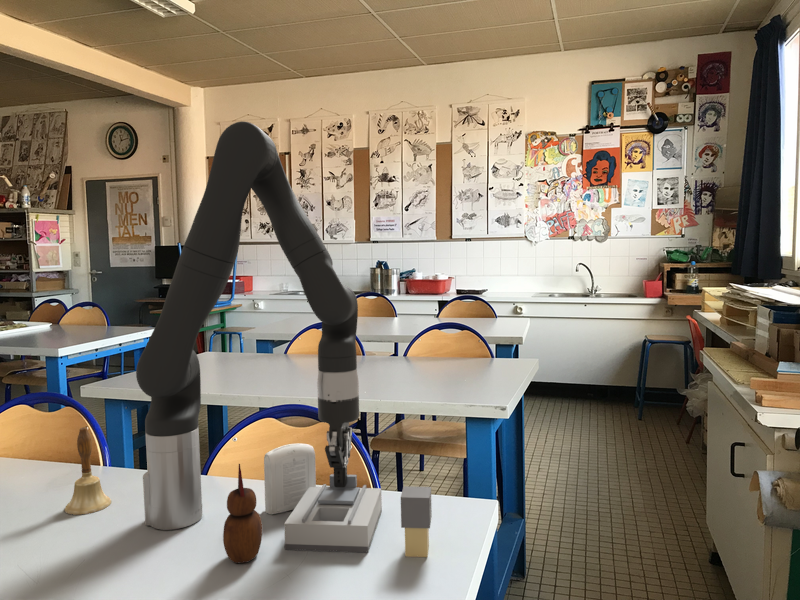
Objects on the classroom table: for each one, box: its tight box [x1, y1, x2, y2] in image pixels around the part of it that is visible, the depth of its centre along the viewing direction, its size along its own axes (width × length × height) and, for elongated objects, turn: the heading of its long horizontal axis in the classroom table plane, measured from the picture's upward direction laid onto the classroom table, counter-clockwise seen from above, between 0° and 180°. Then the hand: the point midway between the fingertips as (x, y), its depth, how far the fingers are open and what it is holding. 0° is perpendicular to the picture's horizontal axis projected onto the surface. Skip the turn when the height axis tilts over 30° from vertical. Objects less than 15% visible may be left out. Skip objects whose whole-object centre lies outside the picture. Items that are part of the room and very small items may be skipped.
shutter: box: [318, 473, 361, 504], centre depth 110 cm, size 6×7×3 cm
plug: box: [400, 485, 432, 558], centre depth 98 cm, size 5×5×10 cm
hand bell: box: [64, 426, 112, 516], centre depth 119 cm, size 8×8×16 cm
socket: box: [283, 483, 383, 554], centre depth 107 cm, size 14×16×5 cm
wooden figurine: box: [222, 463, 263, 564], centre depth 97 cm, size 7×6×15 cm
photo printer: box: [263, 442, 317, 515], centre depth 117 cm, size 10×4×12 cm, turn 123°
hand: (340, 485), depth 111 cm, fingers closed
